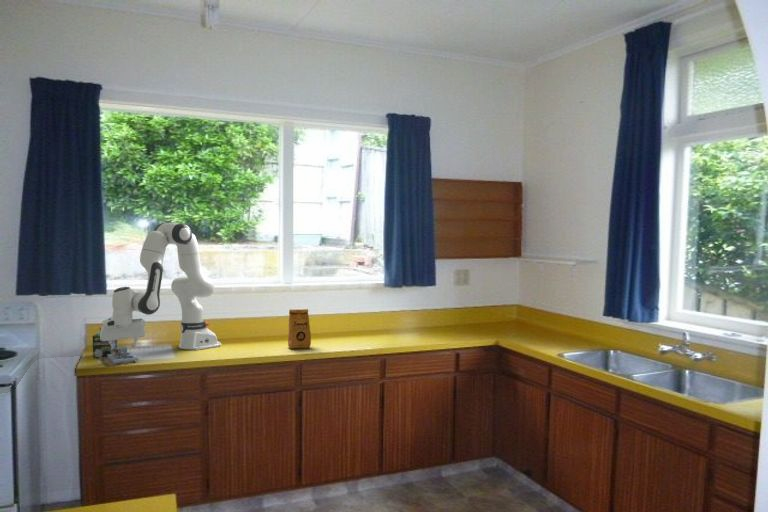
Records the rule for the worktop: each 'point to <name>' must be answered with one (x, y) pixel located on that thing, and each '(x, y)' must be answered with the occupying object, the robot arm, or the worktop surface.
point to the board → (109, 363)
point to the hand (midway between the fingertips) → (123, 347)
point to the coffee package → (299, 329)
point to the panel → (129, 357)
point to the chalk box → (102, 346)
